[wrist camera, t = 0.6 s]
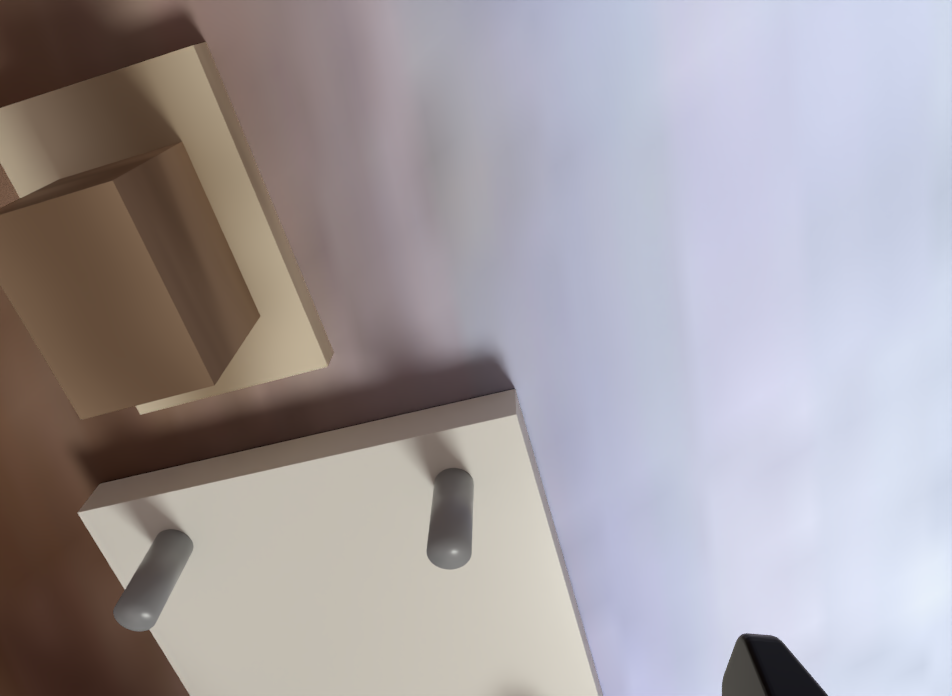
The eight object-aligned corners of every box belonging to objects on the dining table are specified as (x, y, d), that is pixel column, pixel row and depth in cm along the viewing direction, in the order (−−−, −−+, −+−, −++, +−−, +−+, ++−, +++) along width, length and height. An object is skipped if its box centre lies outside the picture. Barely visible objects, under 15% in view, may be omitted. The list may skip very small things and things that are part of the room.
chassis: (280, 791, 32) (249, 909, 28) (99, 484, 25) (25, 581, 21) (614, 735, 30) (633, 854, 26) (515, 388, 24) (519, 476, 19)
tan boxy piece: (155, 394, 24) (75, 497, 20) (2, 108, 20) (-143, 150, 16) (335, 348, 23) (296, 443, 19) (209, 40, 20) (121, 63, 15)
